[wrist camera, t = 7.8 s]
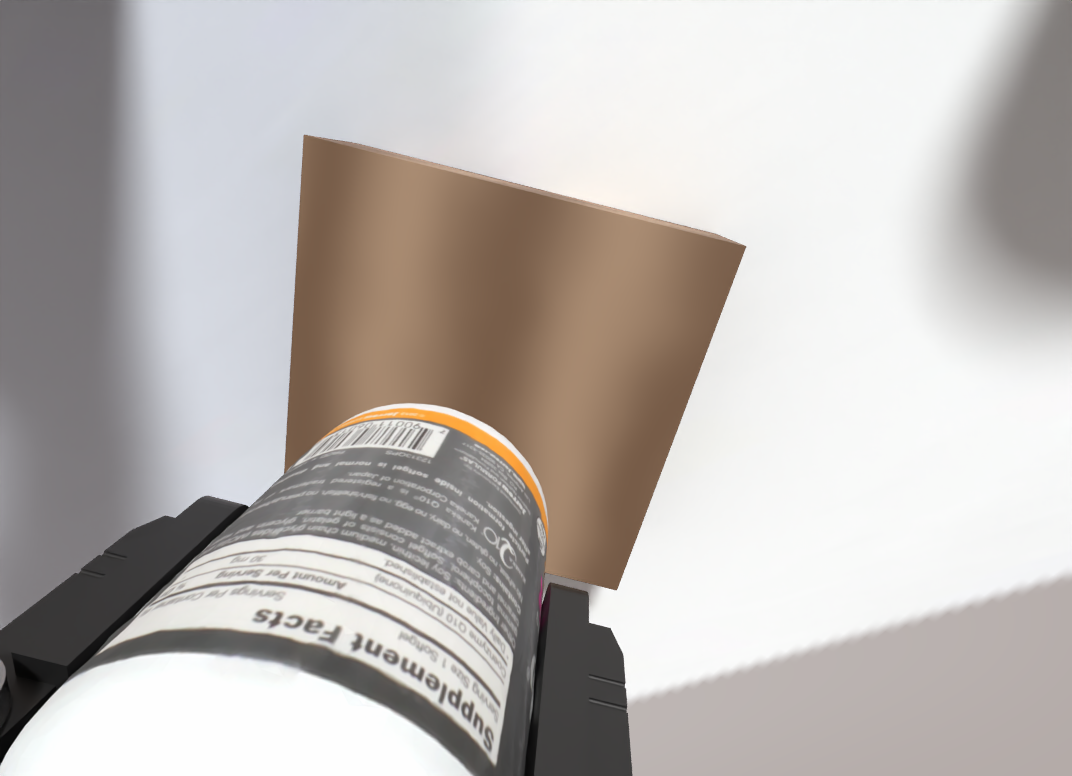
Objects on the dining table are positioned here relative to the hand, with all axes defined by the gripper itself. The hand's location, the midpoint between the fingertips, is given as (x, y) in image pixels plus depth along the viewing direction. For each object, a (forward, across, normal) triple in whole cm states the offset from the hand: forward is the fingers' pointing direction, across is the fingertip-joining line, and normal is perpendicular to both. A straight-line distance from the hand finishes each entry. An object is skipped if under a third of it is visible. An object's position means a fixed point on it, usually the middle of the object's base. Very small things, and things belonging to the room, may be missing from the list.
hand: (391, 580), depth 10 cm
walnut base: (+14, 0, 0) cm, 14 cm away
